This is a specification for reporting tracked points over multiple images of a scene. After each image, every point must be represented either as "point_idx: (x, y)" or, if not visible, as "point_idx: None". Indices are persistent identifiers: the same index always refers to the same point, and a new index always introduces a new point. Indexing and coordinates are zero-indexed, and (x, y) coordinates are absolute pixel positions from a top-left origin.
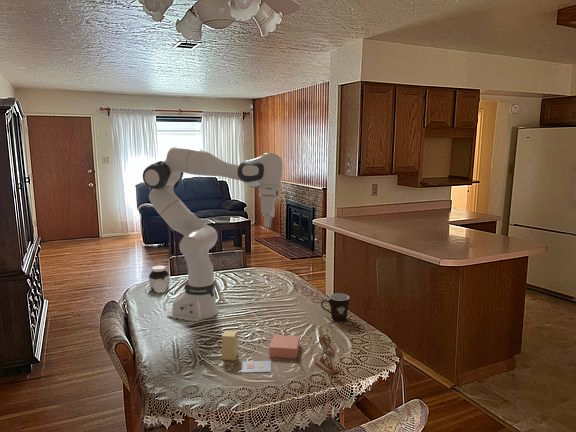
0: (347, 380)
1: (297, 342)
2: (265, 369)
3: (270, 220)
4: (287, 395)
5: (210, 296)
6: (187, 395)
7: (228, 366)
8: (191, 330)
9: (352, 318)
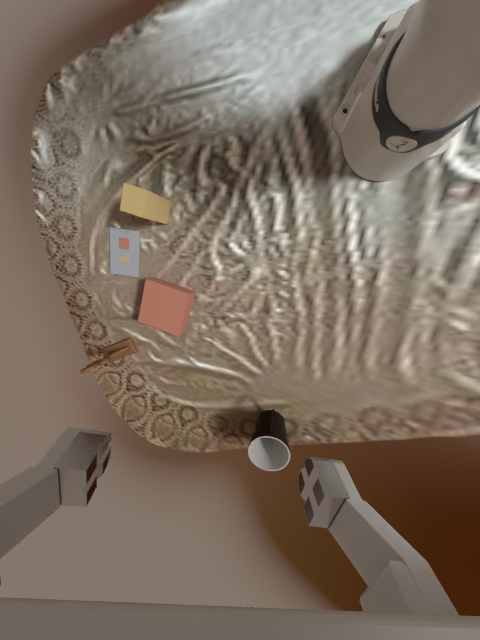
0: None
1: (157, 327)
2: (115, 265)
3: (366, 568)
4: (61, 284)
5: (378, 137)
6: (56, 140)
7: None
8: (283, 114)
9: None
